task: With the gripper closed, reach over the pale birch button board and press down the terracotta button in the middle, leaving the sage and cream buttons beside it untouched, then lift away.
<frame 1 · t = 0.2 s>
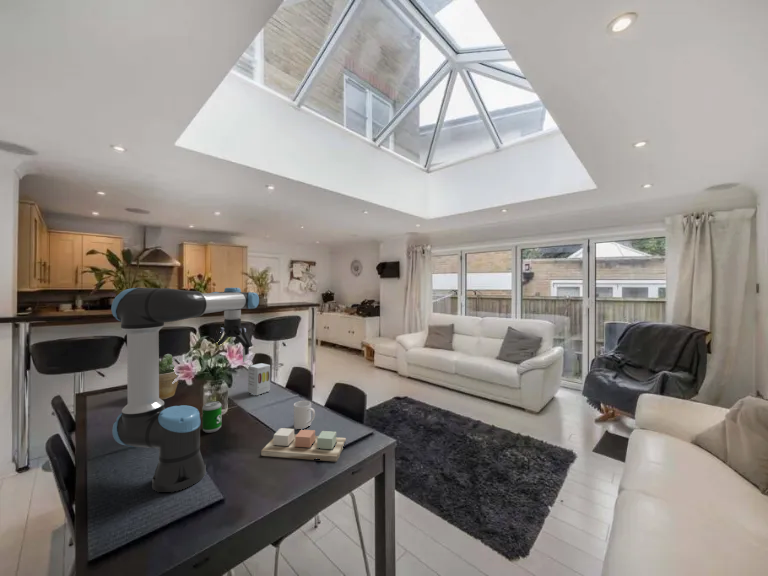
hand: (232, 360, 155), 28 cm above the table, fingers open, 13 cm apart
cream button: (284, 436, 125), point 4 cm above the table, slide at 0.0 cm
sage button: (327, 439, 123), point 4 cm above the table, slide at 0.0 cm
potted plant: (163, 396, 181), on the table
supplement box: (259, 393, 188), on the table
button board: (305, 448, 124), on the table
terracotta button: (305, 438, 124), point 4 cm above the table, slide at 0.0 cm
mug: (305, 427, 143), on the table
soda can: (212, 430, 140), on the table
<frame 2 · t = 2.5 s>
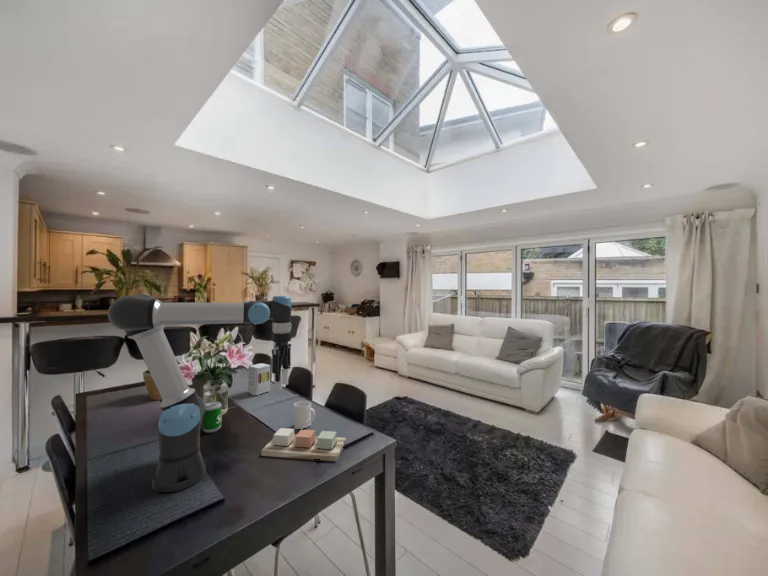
hand: (281, 386, 132), 23 cm above the table, fingers open, 5 cm apart
nothing on the table moved.
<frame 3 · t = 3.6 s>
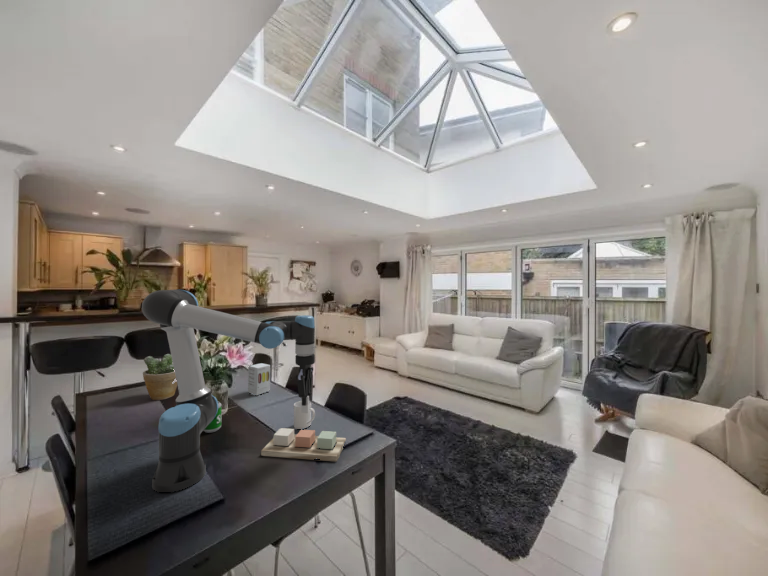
hand: (305, 412, 125), 15 cm above the table, fingers closed
nothing on the table moved.
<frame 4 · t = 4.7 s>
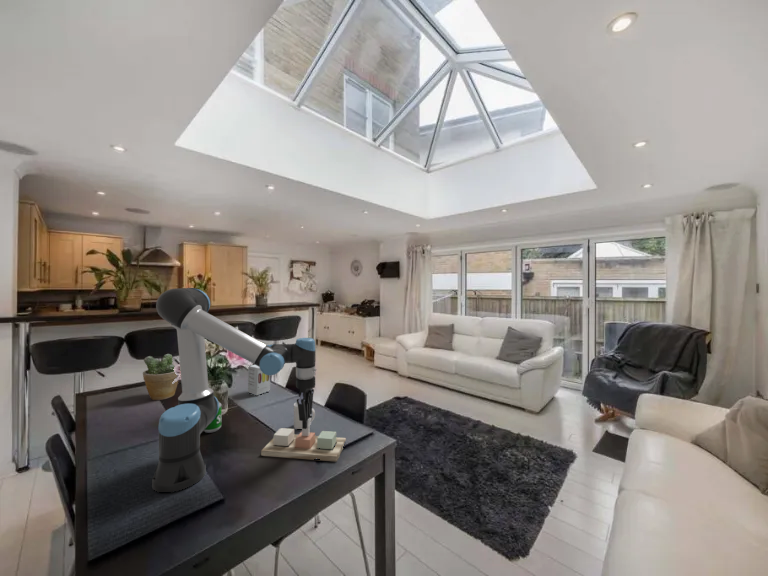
hand: (305, 435, 124), 6 cm above the table, fingers closed
terracotta button: (305, 440, 124), point 3 cm above the table, slide at -1.0 cm, touching gripper
everything else where it was.
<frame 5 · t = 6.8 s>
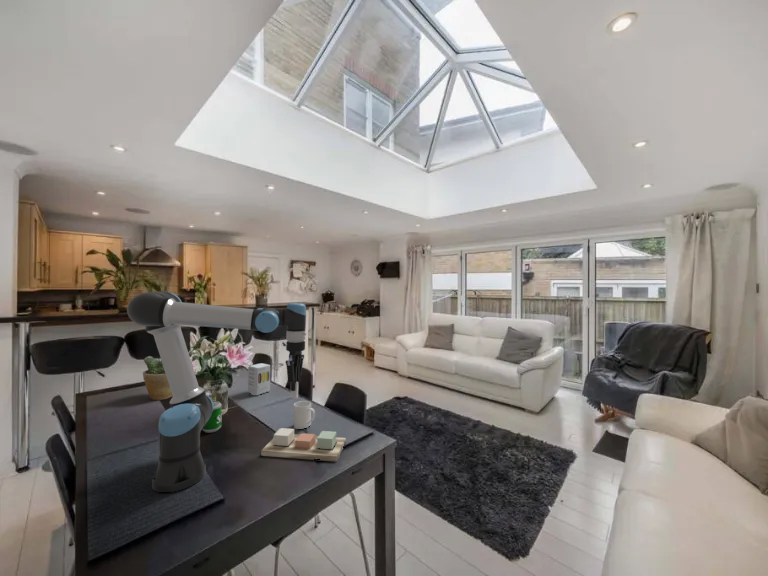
hand: (294, 397, 127), 20 cm above the table, fingers closed
terracotta button: (305, 442, 124), point 3 cm above the table, slide at -1.6 cm
everything else where it was.
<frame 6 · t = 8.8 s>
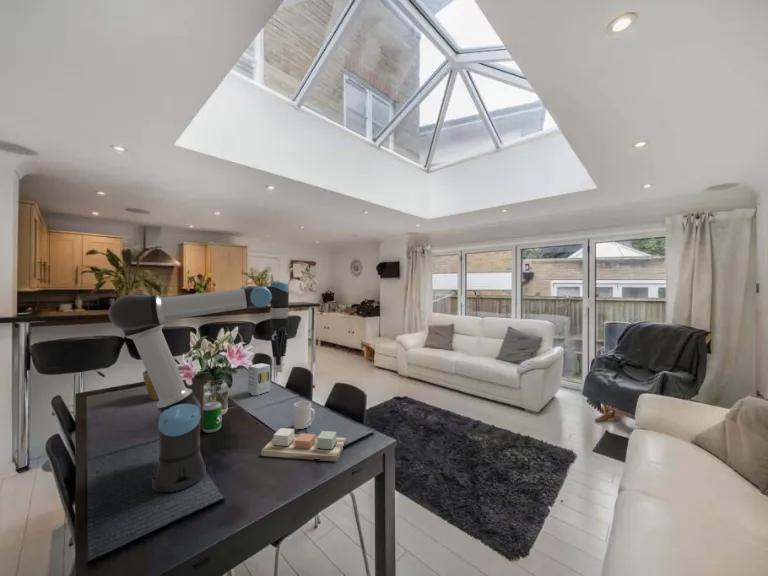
hand: (279, 371, 134), 28 cm above the table, fingers closed
nothing on the table moved.
at the end: terracotta button slide at -1.6 cm; sage button slide at 0.0 cm; cream button slide at 0.0 cm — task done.
